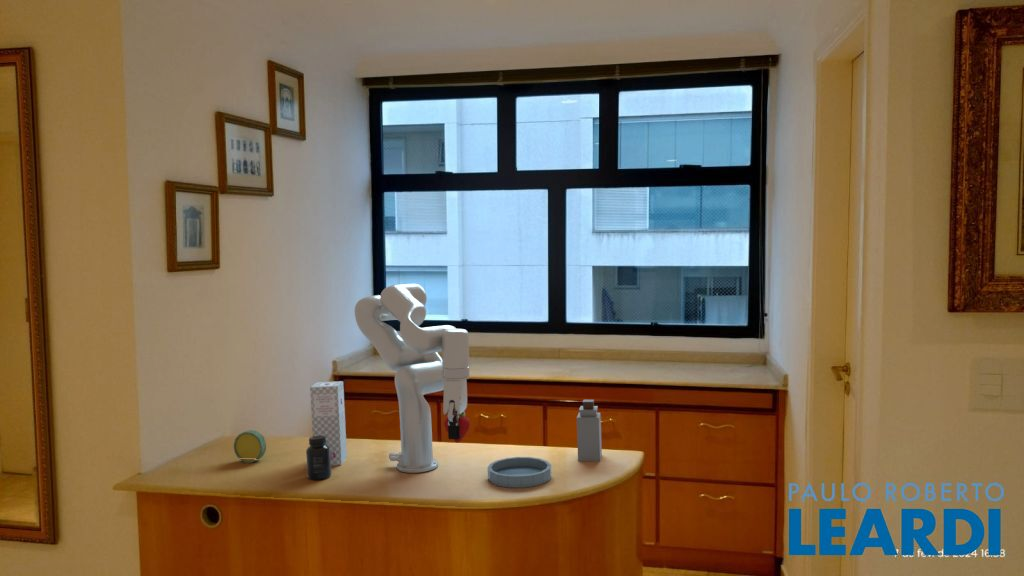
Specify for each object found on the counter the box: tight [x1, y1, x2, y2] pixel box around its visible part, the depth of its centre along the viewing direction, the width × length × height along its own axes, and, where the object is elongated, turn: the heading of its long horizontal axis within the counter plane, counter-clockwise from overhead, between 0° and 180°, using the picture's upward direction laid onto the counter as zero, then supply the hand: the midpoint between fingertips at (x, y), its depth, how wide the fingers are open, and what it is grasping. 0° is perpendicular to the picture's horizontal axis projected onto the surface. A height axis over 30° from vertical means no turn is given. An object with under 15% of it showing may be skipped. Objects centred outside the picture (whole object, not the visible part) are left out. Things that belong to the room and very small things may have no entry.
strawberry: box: [443, 413, 471, 444], centre depth 201 cm, size 6×8×10 cm
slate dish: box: [487, 456, 552, 489], centre depth 205 cm, size 18×18×3 cm
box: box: [309, 380, 348, 467], centre depth 227 cm, size 8×8×25 cm
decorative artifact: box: [233, 429, 267, 464], centre depth 233 cm, size 10×7×10 cm
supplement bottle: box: [305, 435, 332, 481], centre depth 212 cm, size 7×7×12 cm
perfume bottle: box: [576, 399, 603, 462], centre depth 221 cm, size 7×7×18 cm
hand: (457, 435), depth 202 cm, fingers closed on strawberry, 6 cm apart
